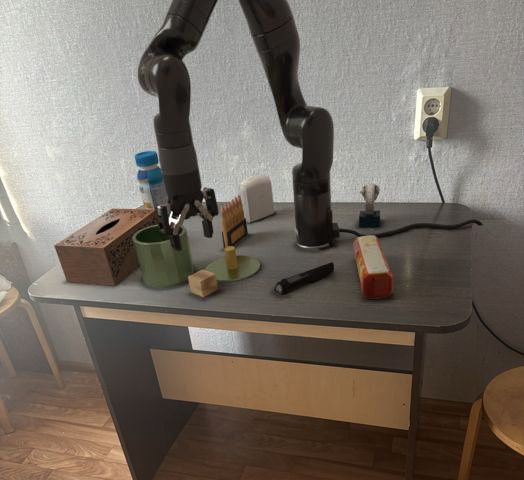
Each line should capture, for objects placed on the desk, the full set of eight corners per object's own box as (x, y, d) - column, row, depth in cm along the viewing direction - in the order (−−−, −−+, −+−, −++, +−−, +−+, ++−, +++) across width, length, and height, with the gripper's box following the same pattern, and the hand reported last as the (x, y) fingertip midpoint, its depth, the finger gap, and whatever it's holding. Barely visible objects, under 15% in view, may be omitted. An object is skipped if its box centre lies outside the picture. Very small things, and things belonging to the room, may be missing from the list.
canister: (196, 264, 132) (188, 221, 125) (191, 286, 121) (181, 241, 115) (149, 268, 133) (138, 226, 126) (139, 291, 122) (127, 246, 116)
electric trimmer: (338, 276, 118) (338, 264, 117) (282, 298, 112) (281, 285, 111) (328, 271, 121) (328, 259, 119) (273, 292, 115) (272, 279, 113)
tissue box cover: (121, 241, 150) (112, 208, 145) (164, 243, 146) (156, 209, 140) (67, 282, 131) (54, 245, 125) (114, 285, 126) (103, 248, 120)
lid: (260, 257, 131) (258, 234, 128) (260, 281, 120) (257, 257, 117) (208, 262, 132) (204, 239, 129) (202, 286, 121) (198, 263, 117)
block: (206, 286, 121) (203, 269, 118) (218, 291, 118) (215, 273, 115) (191, 294, 118) (187, 276, 116) (203, 299, 116) (200, 281, 113)
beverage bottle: (170, 221, 160) (156, 155, 149) (144, 224, 161) (128, 158, 149) (174, 212, 167) (161, 148, 156) (149, 214, 168) (134, 151, 156)
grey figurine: (380, 218, 144) (381, 179, 138) (379, 229, 138) (380, 189, 132) (359, 219, 146) (360, 180, 139) (358, 230, 139) (358, 189, 133)
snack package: (352, 259, 125) (352, 232, 121) (380, 257, 124) (380, 230, 120) (361, 302, 107) (361, 272, 104) (393, 300, 107) (394, 270, 103)
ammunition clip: (229, 250, 137) (223, 206, 130) (223, 250, 137) (217, 206, 131) (248, 235, 144) (243, 193, 138) (242, 234, 145) (237, 192, 138)
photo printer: (249, 224, 152) (244, 182, 145) (241, 220, 154) (235, 179, 148) (276, 214, 156) (272, 172, 149) (267, 211, 159) (264, 170, 152)
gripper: (161, 180, 97) (177, 259, 106) (218, 161, 104) (229, 236, 113) (139, 174, 101) (157, 251, 110) (196, 157, 109) (208, 229, 118)
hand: (193, 243), depth 112 cm, fingers open, 8 cm apart
